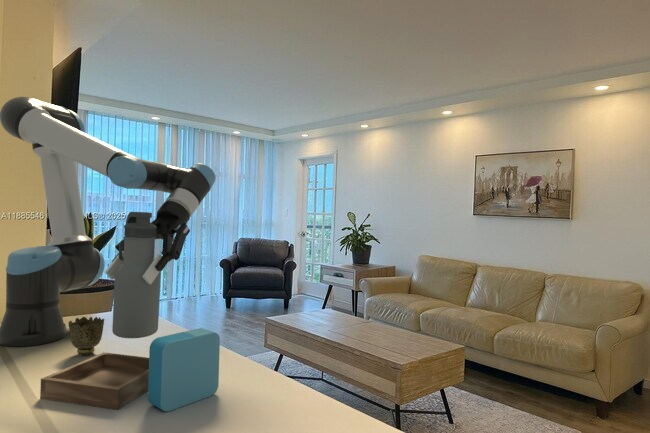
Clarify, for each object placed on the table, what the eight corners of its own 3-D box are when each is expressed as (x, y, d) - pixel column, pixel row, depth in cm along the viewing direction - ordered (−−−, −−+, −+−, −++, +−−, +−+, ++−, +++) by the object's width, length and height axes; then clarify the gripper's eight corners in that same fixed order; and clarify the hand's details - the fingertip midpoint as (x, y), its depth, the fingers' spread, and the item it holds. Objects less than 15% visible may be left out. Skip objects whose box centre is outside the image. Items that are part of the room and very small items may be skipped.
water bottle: (106, 330, 104) (111, 210, 103) (148, 324, 110) (154, 211, 110) (119, 341, 96) (125, 212, 96) (164, 335, 103) (170, 213, 102)
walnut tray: (103, 368, 96) (103, 352, 96) (169, 377, 92) (170, 360, 92) (40, 398, 80) (40, 378, 80) (117, 409, 77) (117, 389, 77)
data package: (204, 387, 88) (206, 326, 88) (218, 393, 85) (220, 331, 85) (147, 406, 78) (149, 338, 78) (161, 414, 76) (163, 344, 76)
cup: (88, 360, 101) (89, 325, 101) (60, 357, 102) (61, 322, 102) (110, 350, 108) (111, 317, 108) (83, 347, 110) (84, 315, 109)
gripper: (220, 222, 113) (175, 293, 99) (149, 218, 122) (99, 283, 107) (208, 200, 108) (159, 272, 94) (135, 197, 117) (80, 263, 102)
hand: (127, 278), depth 101 cm, fingers closed on water bottle, 10 cm apart
